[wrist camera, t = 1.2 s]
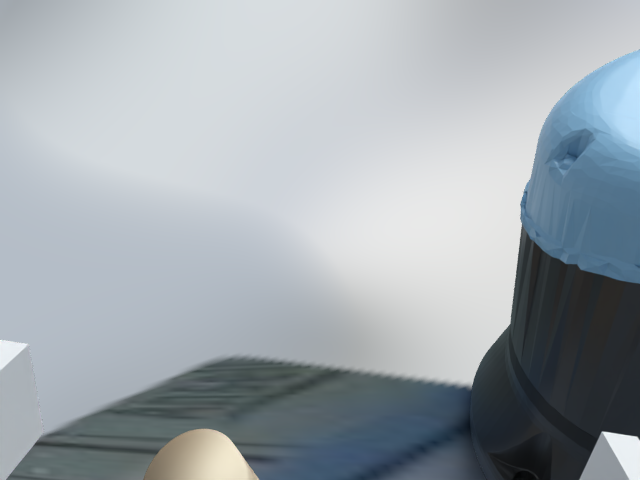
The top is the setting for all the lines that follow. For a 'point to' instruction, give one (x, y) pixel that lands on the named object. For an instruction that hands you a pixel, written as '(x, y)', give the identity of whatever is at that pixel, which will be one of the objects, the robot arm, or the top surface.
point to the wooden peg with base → (199, 459)
